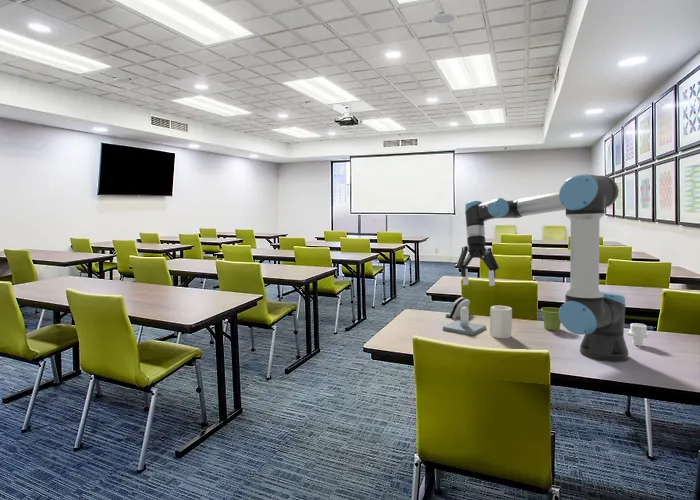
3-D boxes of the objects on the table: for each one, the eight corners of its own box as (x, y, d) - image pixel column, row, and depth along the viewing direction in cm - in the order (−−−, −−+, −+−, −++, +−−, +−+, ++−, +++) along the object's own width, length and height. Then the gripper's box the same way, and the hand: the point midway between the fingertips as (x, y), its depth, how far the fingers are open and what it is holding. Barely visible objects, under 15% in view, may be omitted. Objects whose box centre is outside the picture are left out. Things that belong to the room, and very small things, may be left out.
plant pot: (568, 330, 182) (569, 311, 181) (550, 332, 180) (551, 313, 179) (553, 325, 191) (554, 306, 190) (535, 326, 189) (536, 308, 188)
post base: (485, 328, 187) (486, 306, 186) (472, 335, 176) (472, 312, 175) (457, 323, 196) (457, 302, 195) (442, 329, 185) (442, 307, 184)
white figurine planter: (626, 345, 161) (627, 325, 161) (628, 341, 167) (629, 321, 166) (646, 348, 157) (647, 328, 157) (648, 344, 163) (649, 324, 162)
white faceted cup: (513, 334, 177) (514, 307, 176) (506, 339, 171) (507, 310, 170) (494, 331, 182) (495, 304, 181) (487, 335, 176) (488, 308, 175)
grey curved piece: (457, 310, 221) (464, 293, 218) (465, 314, 219) (472, 297, 216) (444, 317, 208) (451, 299, 205) (453, 321, 205) (460, 303, 203)
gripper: (493, 240, 188) (496, 286, 184) (446, 236, 180) (449, 285, 176) (504, 236, 181) (508, 285, 177) (456, 232, 173) (459, 283, 169)
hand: (479, 285), depth 177 cm, fingers open, 13 cm apart
